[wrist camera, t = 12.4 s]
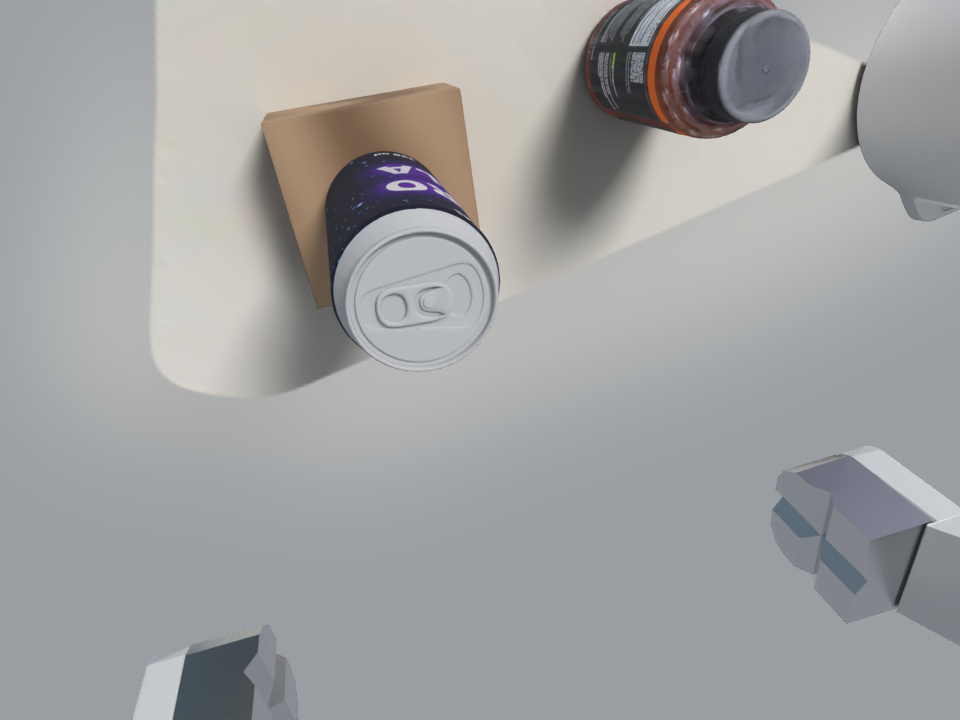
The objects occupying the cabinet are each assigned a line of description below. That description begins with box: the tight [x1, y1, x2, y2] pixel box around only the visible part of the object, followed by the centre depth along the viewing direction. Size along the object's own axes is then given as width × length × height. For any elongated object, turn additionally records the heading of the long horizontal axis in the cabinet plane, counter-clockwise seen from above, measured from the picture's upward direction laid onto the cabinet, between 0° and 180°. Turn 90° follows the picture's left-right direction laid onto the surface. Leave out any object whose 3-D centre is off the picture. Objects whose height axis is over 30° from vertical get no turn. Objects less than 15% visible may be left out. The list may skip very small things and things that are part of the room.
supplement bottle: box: [585, 0, 810, 139], centre depth 27 cm, size 6×6×11 cm
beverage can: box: [325, 151, 500, 372], centre depth 24 cm, size 6×6×12 cm
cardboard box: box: [261, 83, 480, 308], centre depth 30 cm, size 9×9×4 cm
